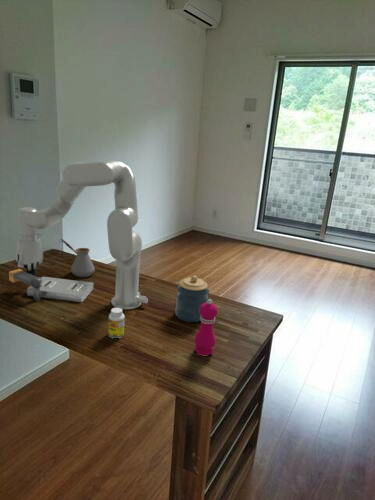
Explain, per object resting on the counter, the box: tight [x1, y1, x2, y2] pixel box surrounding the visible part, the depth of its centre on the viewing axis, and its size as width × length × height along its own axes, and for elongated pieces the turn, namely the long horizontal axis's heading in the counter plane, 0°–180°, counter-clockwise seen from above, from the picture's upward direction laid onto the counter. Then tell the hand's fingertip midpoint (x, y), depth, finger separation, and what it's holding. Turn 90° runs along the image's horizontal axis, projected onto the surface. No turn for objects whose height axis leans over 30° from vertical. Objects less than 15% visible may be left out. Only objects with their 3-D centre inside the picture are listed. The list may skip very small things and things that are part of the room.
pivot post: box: [33, 287, 41, 302], centre depth 154 cm, size 2×2×6 cm
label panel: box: [26, 276, 94, 303], centre depth 163 cm, size 24×14×3 cm, turn 84°
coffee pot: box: [59, 238, 96, 278], centre depth 185 cm, size 21×12×15 cm, turn 58°
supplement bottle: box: [107, 307, 125, 339], centre depth 133 cm, size 6×6×10 cm
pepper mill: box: [194, 298, 218, 355], centre depth 126 cm, size 7×7×20 cm
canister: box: [174, 275, 210, 323], centre depth 151 cm, size 13×13×18 cm
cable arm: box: [8, 268, 42, 288], centre depth 156 cm, size 17×5×4 cm, turn 57°
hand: (31, 277), depth 162 cm, fingers closed
